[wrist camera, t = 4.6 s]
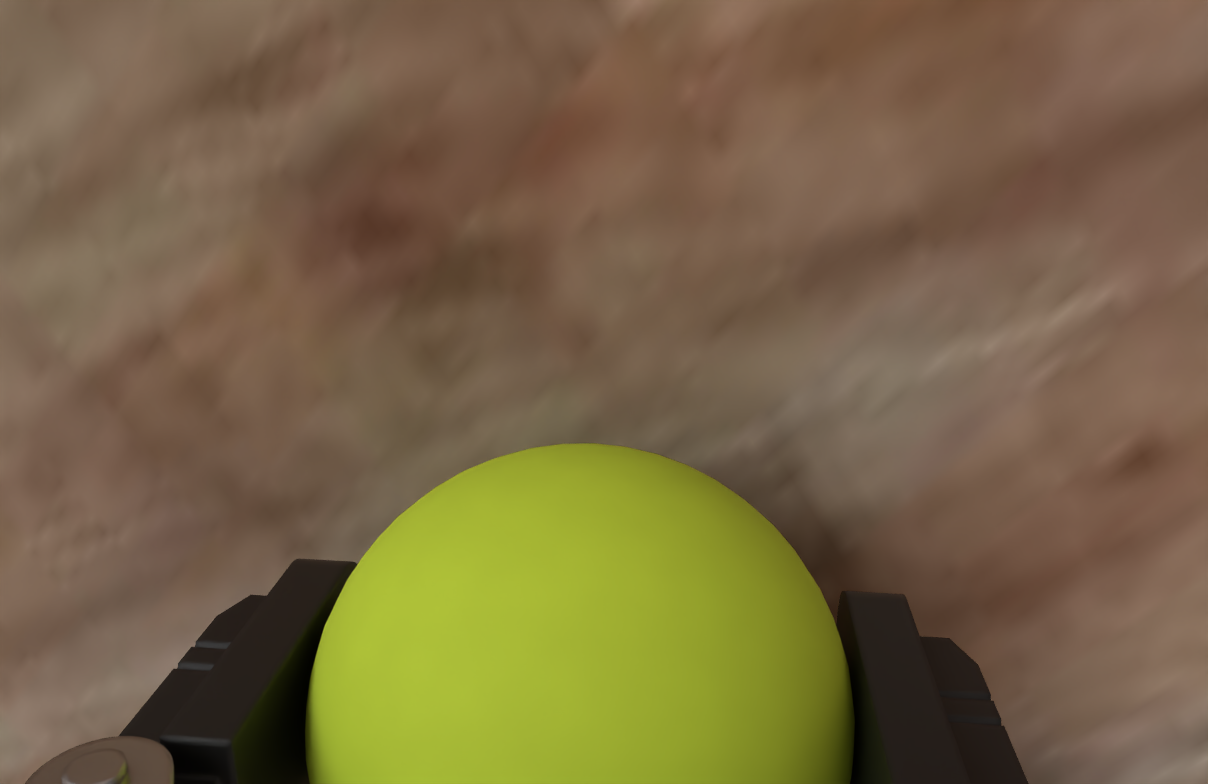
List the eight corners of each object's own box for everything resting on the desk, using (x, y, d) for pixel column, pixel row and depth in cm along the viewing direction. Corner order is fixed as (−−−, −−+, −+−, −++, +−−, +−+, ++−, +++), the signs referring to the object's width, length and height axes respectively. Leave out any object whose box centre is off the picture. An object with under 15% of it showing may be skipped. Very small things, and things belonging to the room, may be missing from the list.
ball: (407, 736, 16) (240, 1136, 10) (383, 363, 14) (157, 603, 8) (805, 765, 15) (865, 1201, 10) (841, 381, 13) (944, 651, 8)
